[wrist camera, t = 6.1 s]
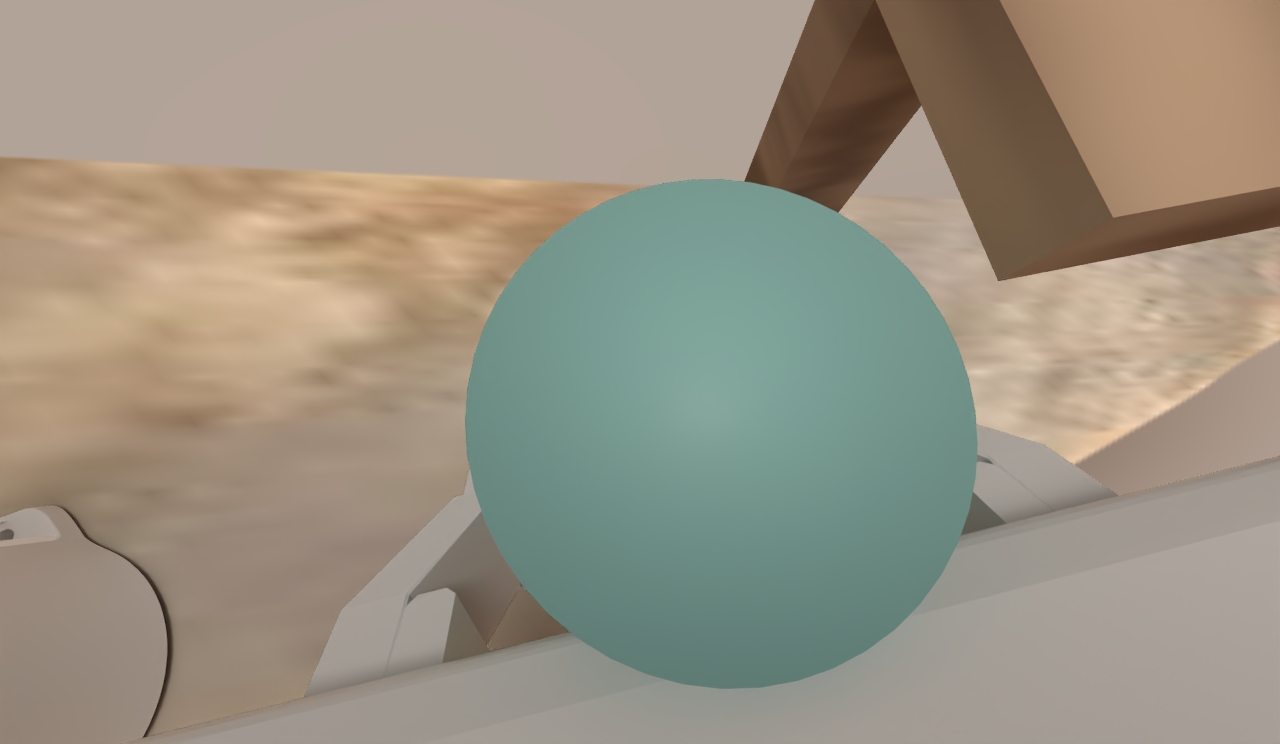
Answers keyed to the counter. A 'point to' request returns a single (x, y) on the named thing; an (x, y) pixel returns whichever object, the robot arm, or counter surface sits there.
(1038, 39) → the brown wooden overhang stand
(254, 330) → the counter surface
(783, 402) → the peg
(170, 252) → the counter surface
